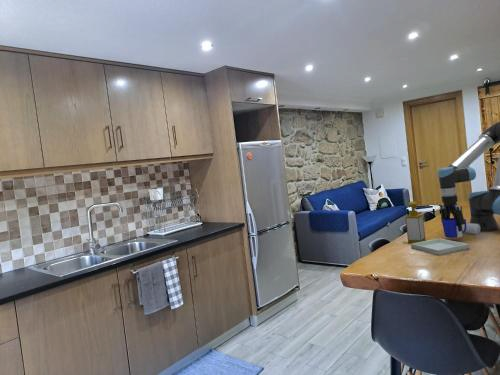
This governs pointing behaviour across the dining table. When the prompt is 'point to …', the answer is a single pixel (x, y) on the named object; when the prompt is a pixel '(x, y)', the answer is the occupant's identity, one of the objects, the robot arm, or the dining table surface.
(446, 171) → the robot arm
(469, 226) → the white cylinder
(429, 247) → the tray
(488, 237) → the dining table surface
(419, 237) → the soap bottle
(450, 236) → the mug
